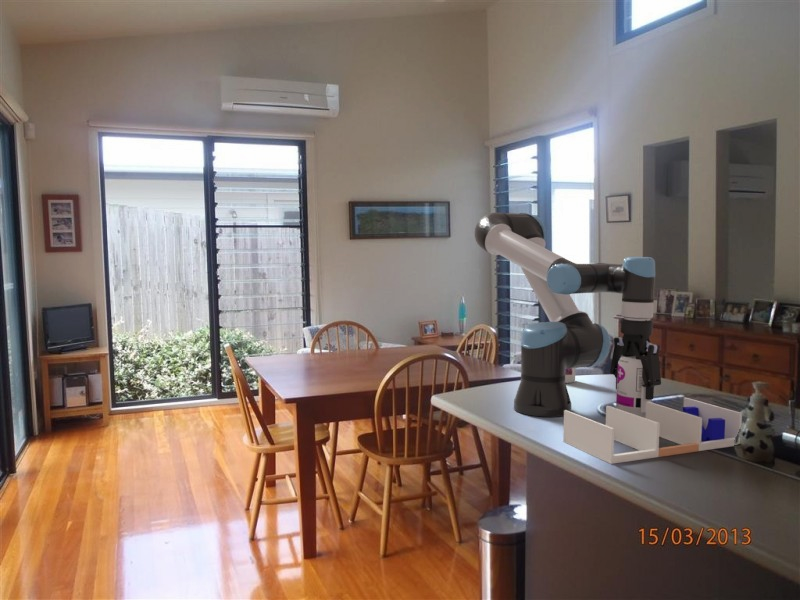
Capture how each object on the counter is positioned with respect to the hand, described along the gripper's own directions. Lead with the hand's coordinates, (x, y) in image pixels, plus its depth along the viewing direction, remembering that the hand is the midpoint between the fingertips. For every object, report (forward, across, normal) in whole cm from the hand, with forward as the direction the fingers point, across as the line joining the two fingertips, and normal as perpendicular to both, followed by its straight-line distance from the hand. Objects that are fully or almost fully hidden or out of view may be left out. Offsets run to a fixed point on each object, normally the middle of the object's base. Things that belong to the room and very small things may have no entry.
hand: (633, 407), depth 162 cm
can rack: (+3, -17, +10) cm, 20 cm away
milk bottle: (+4, +47, -12) cm, 48 cm away
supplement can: (+2, 0, 0) cm, 2 cm away
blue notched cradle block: (+3, -18, -3) cm, 19 cm away
